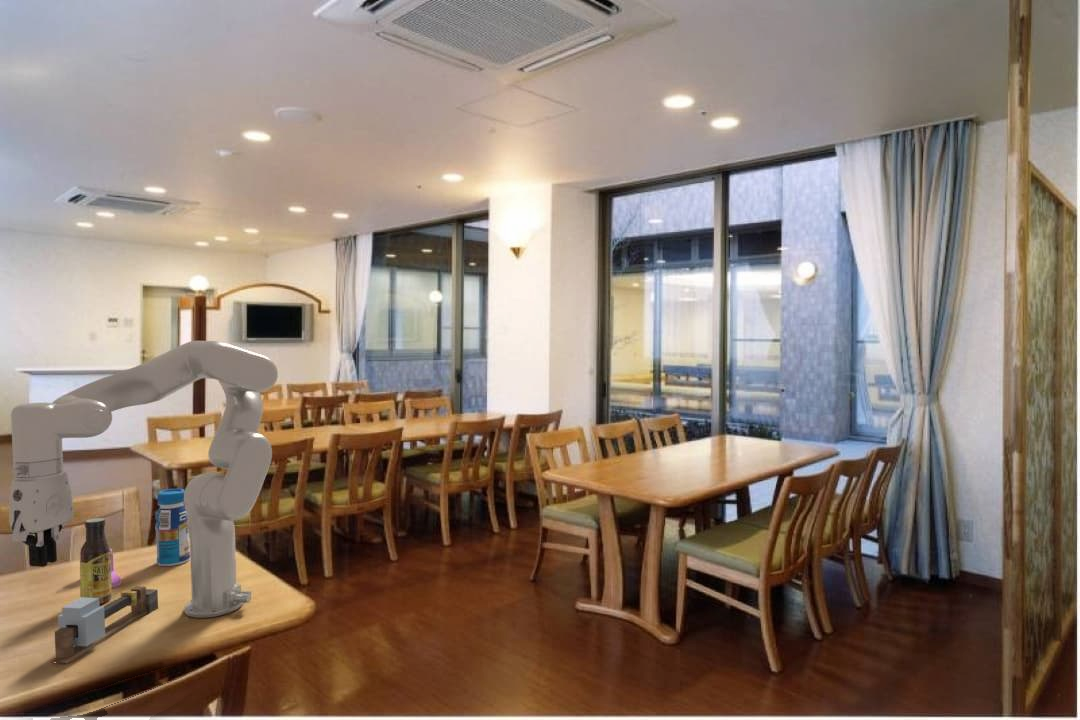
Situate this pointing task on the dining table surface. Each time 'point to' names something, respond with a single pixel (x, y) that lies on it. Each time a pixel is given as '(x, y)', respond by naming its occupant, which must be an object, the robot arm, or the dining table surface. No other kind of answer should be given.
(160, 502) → the beverage bottle
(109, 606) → the stand
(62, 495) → the robot arm
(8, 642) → the dining table surface
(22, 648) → the dining table surface
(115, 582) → the bracket
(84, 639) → the notched grey cube
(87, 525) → the sauce bottle
